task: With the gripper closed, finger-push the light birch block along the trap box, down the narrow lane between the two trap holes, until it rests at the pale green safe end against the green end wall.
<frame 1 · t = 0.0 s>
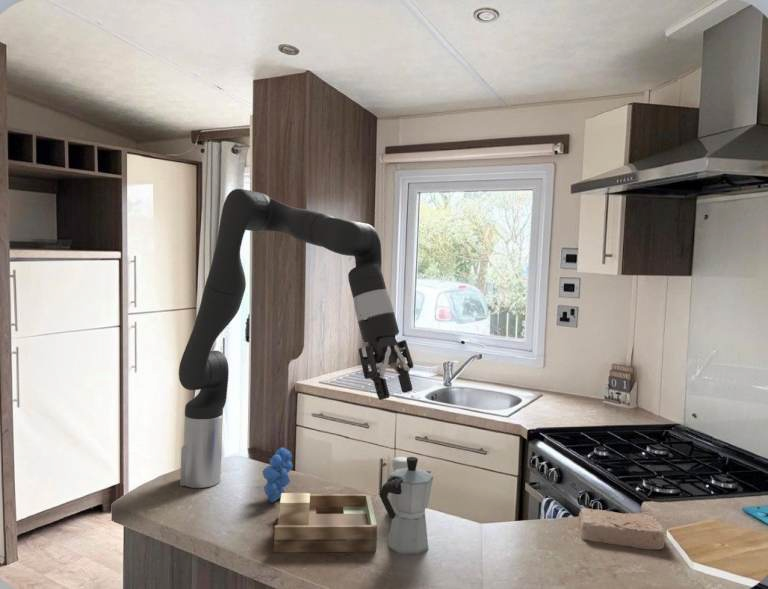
hand: (396, 395, 109), 31 cm above the worktop, tool tilted 20°, fingers open, 8 cm apart
coffee maker: (404, 547, 113), on the worktop
birch block: (294, 521, 117), point 2 cm above the worktop, touching trap box
trap box: (325, 532, 117), on the worktop
salt shaker: (398, 514, 128), on the worktop
grapes: (274, 498, 134), on the worktop
brick: (618, 539, 122), on the worktop
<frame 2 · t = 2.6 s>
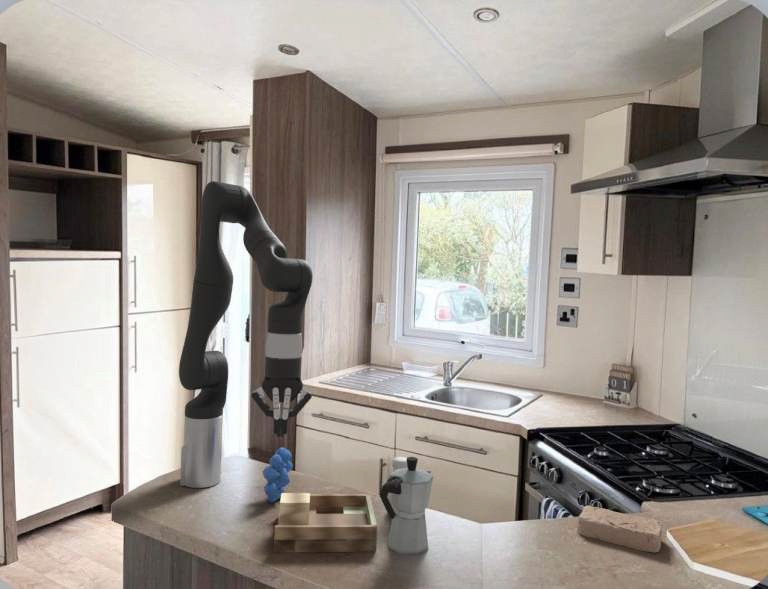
hand: (280, 435, 117), 20 cm above the worktop, tool pointing down, fingers closed
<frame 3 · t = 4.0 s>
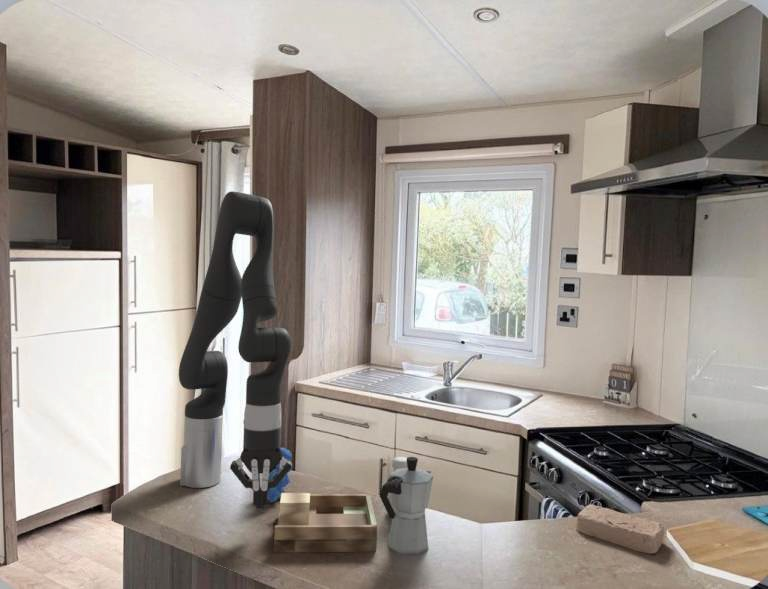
hand: (260, 506, 115), 6 cm above the worktop, tool pointing down, fingers closed
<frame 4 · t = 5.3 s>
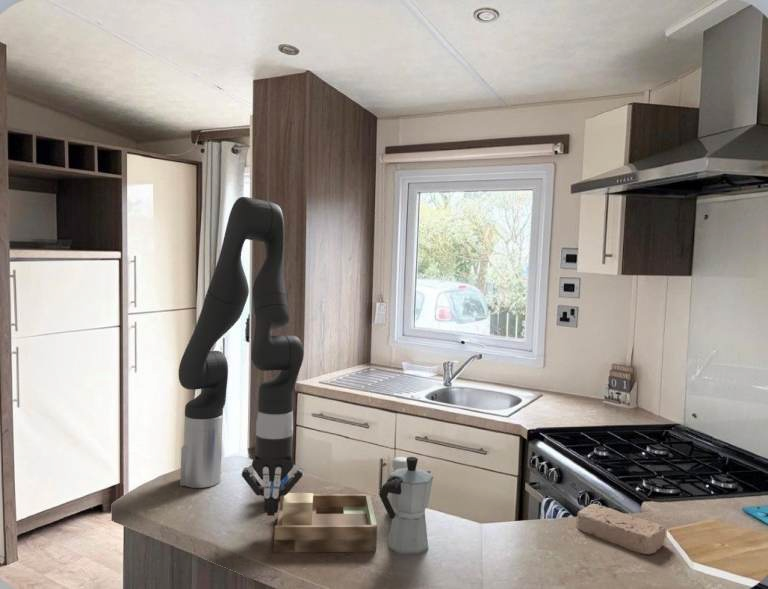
hand: (270, 514, 116), 4 cm above the worktop, tool pointing down, fingers closed
birch block: (297, 521, 117), point 3 cm above the worktop, touching gripper
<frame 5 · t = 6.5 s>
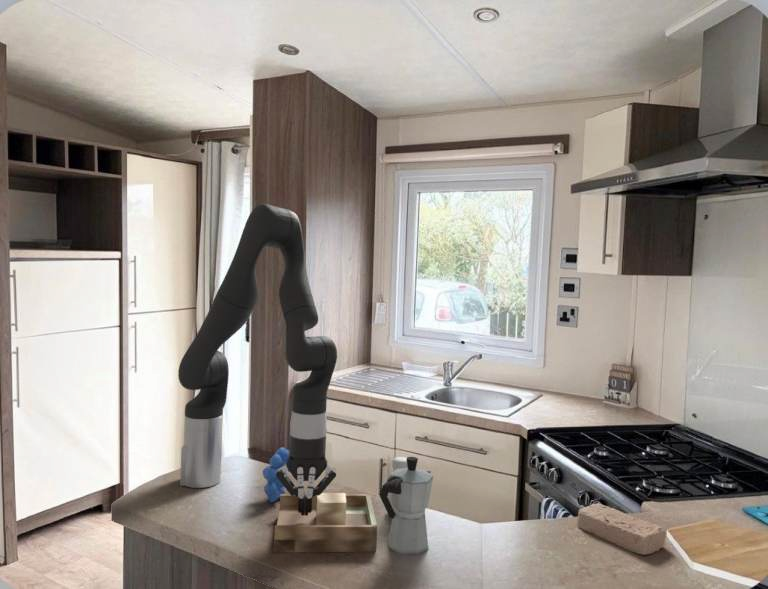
hand: (304, 513, 117), 4 cm above the worktop, tool pointing down, fingers closed
birch block: (330, 521, 117), point 2 cm above the worktop, touching gripper, trap box
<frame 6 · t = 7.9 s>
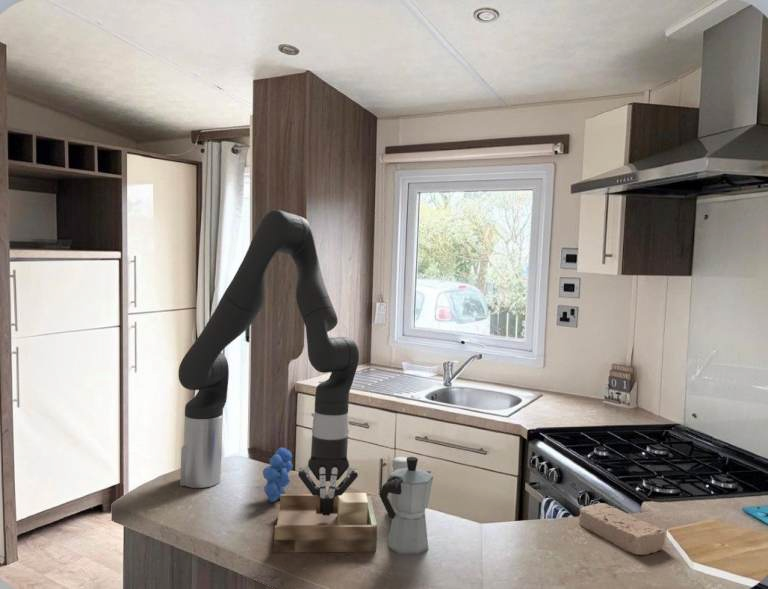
hand: (325, 513, 117), 4 cm above the worktop, tool pointing down, fingers closed
birch block: (351, 520, 118), point 2 cm above the worktop, touching gripper, trap box
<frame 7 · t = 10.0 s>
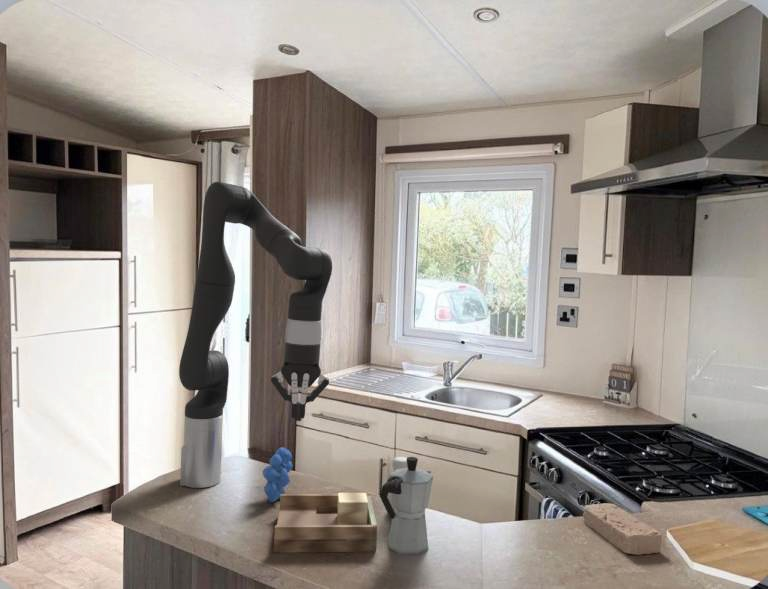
hand: (297, 419, 120), 23 cm above the worktop, tool pointing down, fingers closed
birch block: (351, 520, 118), point 2 cm above the worktop, touching trap box
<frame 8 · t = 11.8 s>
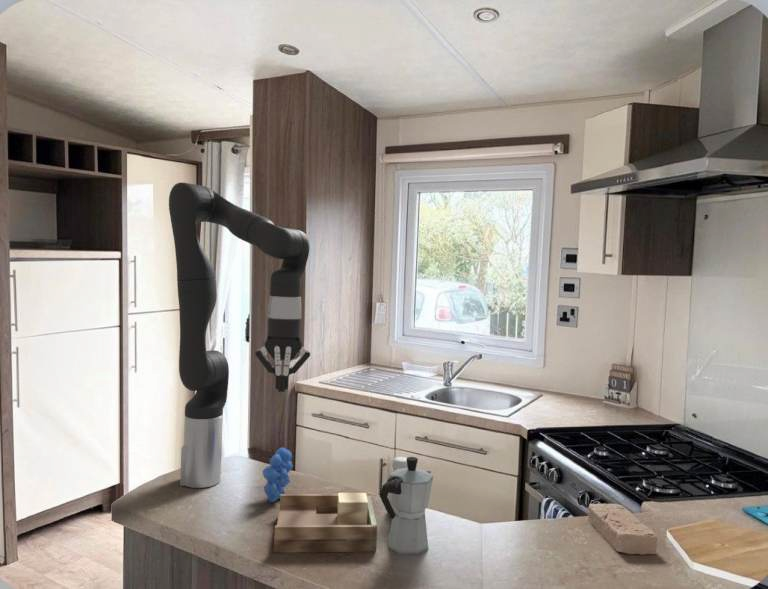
hand: (281, 391, 128), 27 cm above the worktop, tool pointing down, fingers closed
at the end: birch block 0.5 cm from the target spot, point 2.5 cm above the worktop; birch block tilted 0°; the gripper is holding nothing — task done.
